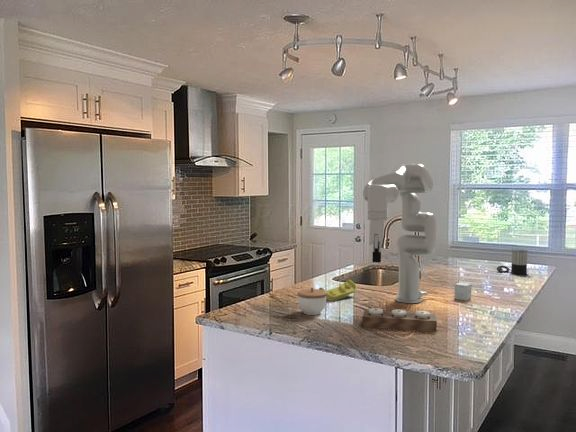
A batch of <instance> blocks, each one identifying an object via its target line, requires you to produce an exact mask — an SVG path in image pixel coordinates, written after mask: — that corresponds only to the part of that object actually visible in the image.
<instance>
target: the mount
mask: <svg viewBox="0 0 576 432" xmlns="http://www.w3.org/2000/svg"><path fill="white" fill-rule="evenodd" d="M361 317H362V318H361V319H362V321H361V323H362V325H361V326H362V327H365V328H381V329H395V330H408V331H409V330H410V331H411V330H412V331H421V332H423V331H424V332H426V331H427V332H437V325H438V323H437V322H438V320H437V316H436V313H430V317H429V319H421V318H417V316H415V312H407V311H406V315H405V317H393V315H392V310H391V311H387V310H383V314H382V316H373V315H370V313H369V309H364V310H363V313H362V316H361Z"/></svg>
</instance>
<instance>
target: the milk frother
mask: <svg viewBox="0 0 576 432" xmlns="http://www.w3.org/2000/svg"><path fill="white" fill-rule="evenodd" d="M527 267H528V250H527V249H521V248H520V249H518V248H517V249H516V248H515V249H511V269H510V268H509V267H508V266H506V265H498V266H497V267H496V270H497V271H498V272H499V273H508V272H509V271H510V274H511V275H517V276H525V275H528V269H527ZM504 269H506V270H504Z"/></svg>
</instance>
